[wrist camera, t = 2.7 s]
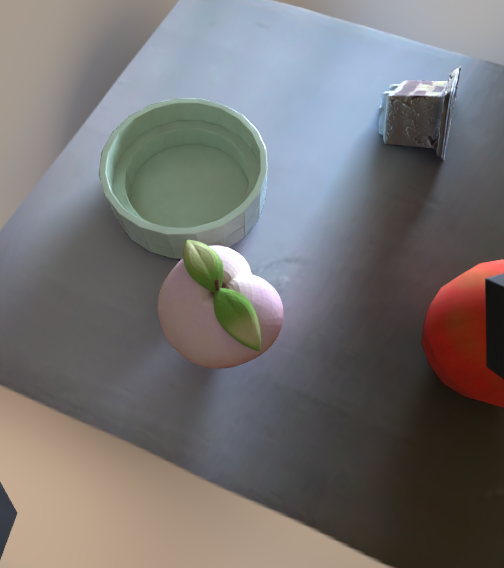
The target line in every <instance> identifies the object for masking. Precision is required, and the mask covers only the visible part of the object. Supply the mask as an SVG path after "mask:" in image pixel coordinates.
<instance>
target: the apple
mask: <svg viewBox="0 0 504 568" xmlns="http://www.w3.org/2000/svg"><path fill="white" fill-rule="evenodd" d="M503 273H504V260H498V261H492V262H486V263H480V264H478V265H477V266H475V267H473V268H472V269H470V270H468V271H467V272H465V273H463V274H462V275H460V276H458V277H457V278H455V279H454V280H452V281H451V282H449V283H448V284H446V285H445V286H443V287H441V288H440V290H439V292H438V293H437V295H436V297H435V298H434V300H433V302H432V303H431V305H430V306H429V308H428V312H427V315H426V318H425V321H424V326H423V335H422V346H423V348H424V351H425V354H426V357H427V360H428V362H429V365H430V366H431V367H432V369H433V370H434V372H435V373H436V374H437V376H438V377H439V379H440V380H441V381H442V383H443V384H445V385H446V386H448V387H450V388H451V389H453V390H455V391H456V392H458V393H459V394H461V395H463V396H465V397H468V398H472V399H475V400H479V401H482V402H486V403H489V404H493V405H496V406H500V407H503V408H504V379H502V378H501V377H499V376H498V375H497V374H495V373H494V372H493V371H491V370H490V369H488V368H487V367H486V303H485V278H489V277H492V276H496V275H499V274H503Z"/></svg>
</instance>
